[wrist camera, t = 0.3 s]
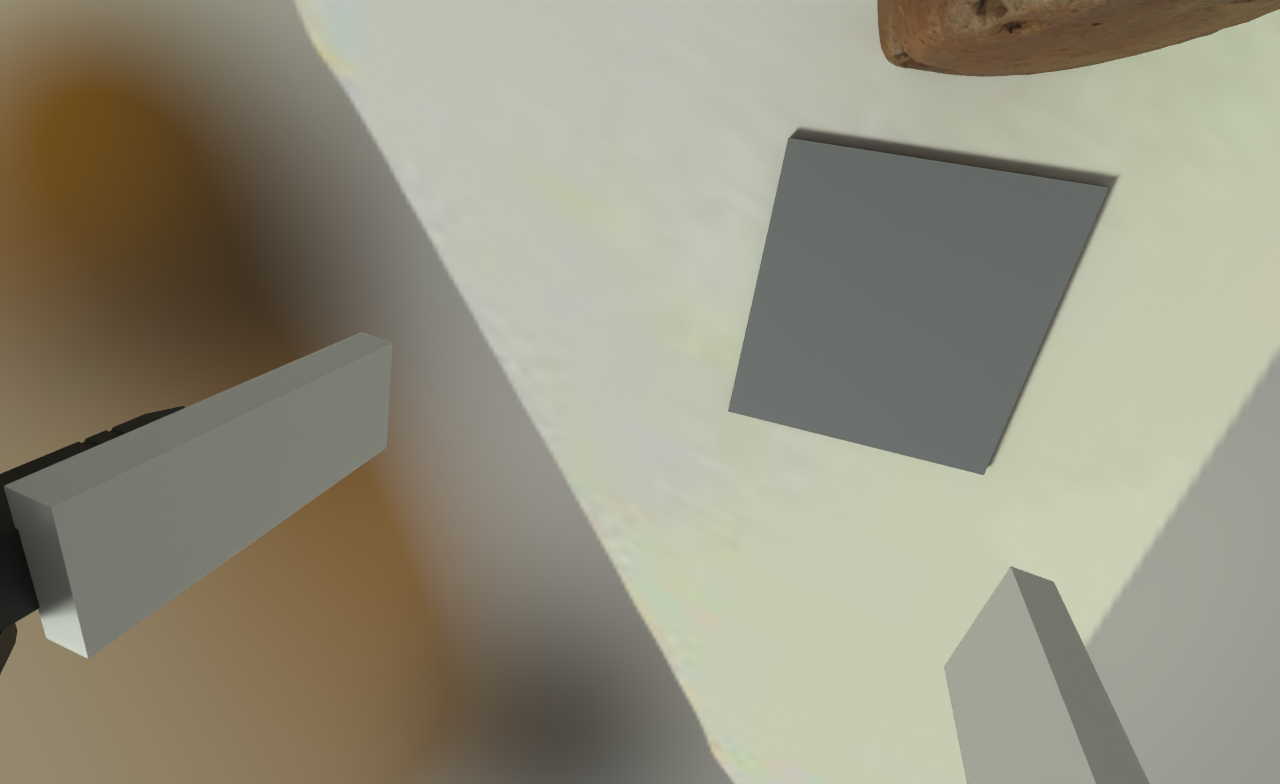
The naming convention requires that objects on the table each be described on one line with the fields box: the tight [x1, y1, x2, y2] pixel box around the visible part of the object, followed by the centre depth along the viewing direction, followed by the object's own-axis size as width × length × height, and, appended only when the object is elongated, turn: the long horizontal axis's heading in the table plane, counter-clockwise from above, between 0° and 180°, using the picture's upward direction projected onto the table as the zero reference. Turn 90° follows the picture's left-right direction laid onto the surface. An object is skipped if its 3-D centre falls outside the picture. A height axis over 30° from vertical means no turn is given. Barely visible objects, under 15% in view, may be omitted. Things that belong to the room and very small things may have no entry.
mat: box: [728, 138, 1109, 475], centre depth 36 cm, size 17×16×1 cm
